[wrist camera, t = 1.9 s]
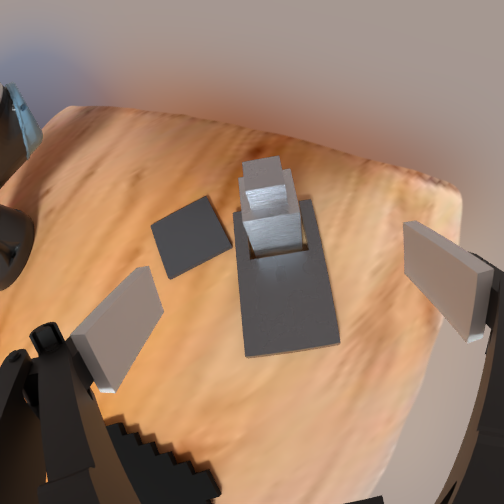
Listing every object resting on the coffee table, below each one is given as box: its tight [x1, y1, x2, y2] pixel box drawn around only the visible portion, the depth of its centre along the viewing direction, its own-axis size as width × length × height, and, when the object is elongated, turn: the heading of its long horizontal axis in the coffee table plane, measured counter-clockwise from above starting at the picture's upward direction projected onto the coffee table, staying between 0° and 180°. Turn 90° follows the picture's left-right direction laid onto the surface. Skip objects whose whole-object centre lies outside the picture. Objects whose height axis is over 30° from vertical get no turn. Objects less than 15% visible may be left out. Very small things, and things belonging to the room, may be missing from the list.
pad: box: [151, 196, 232, 280], centre depth 36 cm, size 8×8×1 cm
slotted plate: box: [233, 199, 340, 358], centre depth 32 cm, size 16×9×1 cm, turn 6°
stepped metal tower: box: [238, 156, 303, 259], centre depth 30 cm, size 5×5×11 cm
